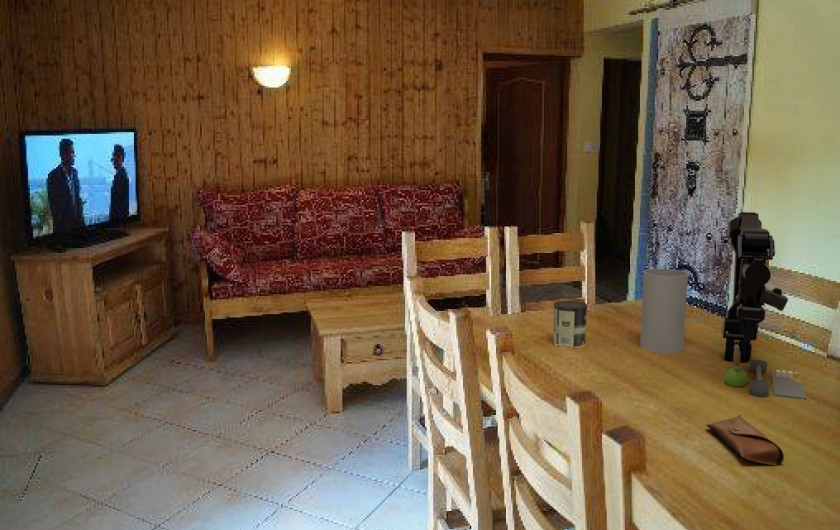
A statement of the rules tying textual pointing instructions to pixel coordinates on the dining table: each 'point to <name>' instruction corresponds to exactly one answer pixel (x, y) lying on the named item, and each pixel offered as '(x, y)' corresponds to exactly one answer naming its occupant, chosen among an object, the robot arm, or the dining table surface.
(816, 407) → the dining table surface
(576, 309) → the coffee can
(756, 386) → the gray dumbbell
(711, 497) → the dining table surface
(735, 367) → the green bulbous piece
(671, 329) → the cylinder vase
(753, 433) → the sunglasses case
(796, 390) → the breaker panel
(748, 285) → the robot arm
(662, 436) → the dining table surface
